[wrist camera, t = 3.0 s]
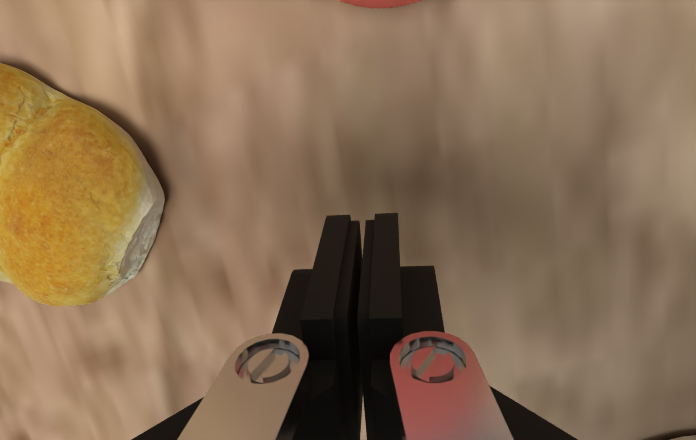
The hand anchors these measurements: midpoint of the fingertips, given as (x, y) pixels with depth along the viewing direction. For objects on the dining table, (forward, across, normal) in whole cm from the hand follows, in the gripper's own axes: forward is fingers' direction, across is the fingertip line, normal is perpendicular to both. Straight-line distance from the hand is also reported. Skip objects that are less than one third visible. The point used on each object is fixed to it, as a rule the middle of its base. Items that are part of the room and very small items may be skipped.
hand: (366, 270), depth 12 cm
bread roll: (+7, +12, 0) cm, 14 cm away
